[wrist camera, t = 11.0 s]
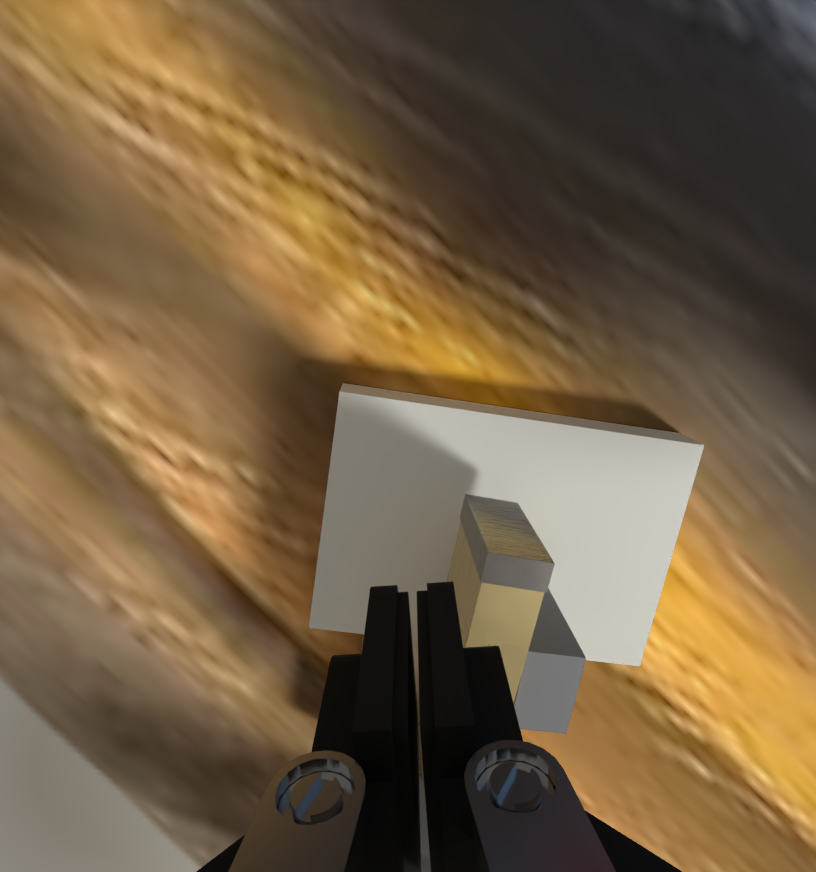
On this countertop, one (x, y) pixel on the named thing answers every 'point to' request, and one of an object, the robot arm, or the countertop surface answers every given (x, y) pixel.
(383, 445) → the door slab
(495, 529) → the bar
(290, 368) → the countertop surface
